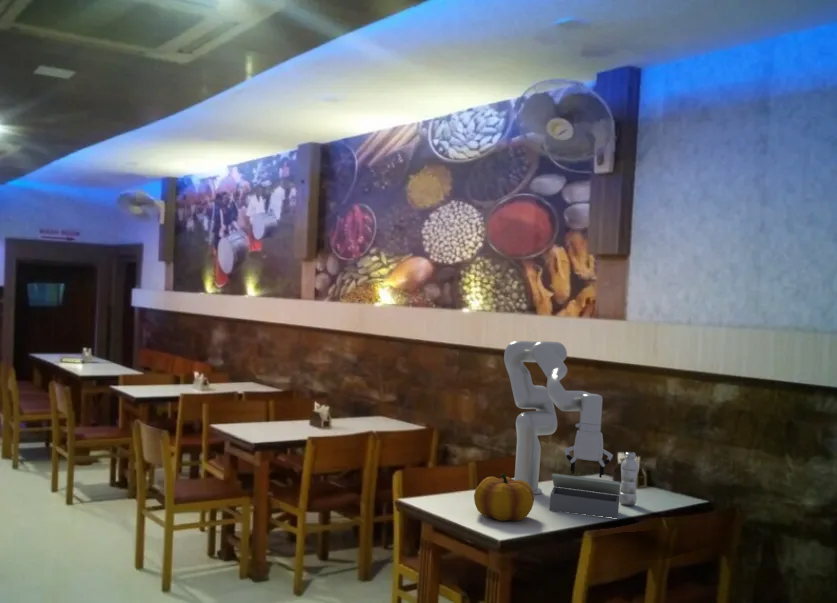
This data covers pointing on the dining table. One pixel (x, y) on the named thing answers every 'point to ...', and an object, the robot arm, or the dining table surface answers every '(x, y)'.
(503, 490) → the decorative pumpkin
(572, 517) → the dining table surface
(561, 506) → the grey rectangular box
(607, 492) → the cover
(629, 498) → the plastic bottle
